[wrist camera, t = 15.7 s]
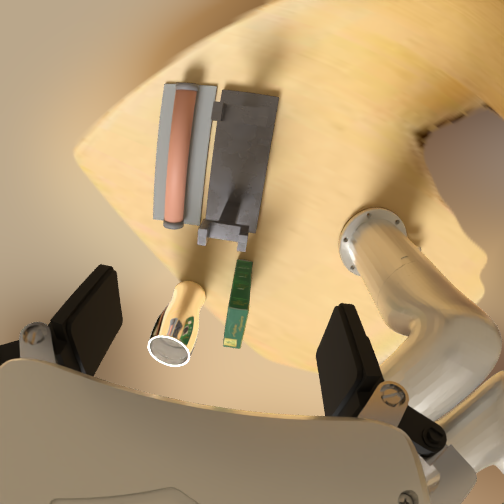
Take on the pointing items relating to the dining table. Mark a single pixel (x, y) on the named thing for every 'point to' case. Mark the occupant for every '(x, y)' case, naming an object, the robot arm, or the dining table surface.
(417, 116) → the dining table surface
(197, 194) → the mat
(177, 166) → the rod
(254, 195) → the hook stand
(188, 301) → the beer glass
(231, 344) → the coffee box
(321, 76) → the dining table surface
